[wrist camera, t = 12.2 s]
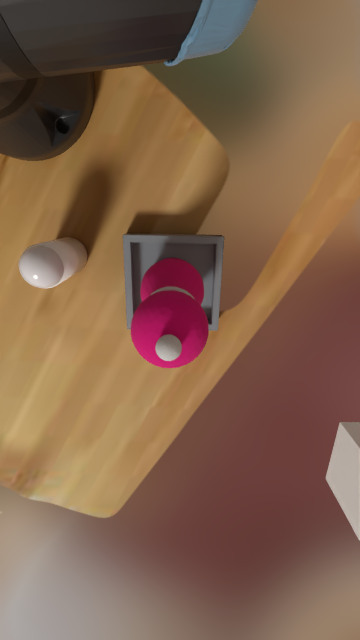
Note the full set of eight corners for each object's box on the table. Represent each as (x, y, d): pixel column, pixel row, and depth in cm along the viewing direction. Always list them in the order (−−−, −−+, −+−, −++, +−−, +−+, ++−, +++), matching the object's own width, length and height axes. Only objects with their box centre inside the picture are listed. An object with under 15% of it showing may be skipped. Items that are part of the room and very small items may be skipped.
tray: (126, 233, 36) (122, 234, 34) (221, 235, 37) (224, 236, 34) (130, 322, 40) (127, 329, 38) (215, 323, 41) (217, 330, 38)
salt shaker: (49, 236, 37) (4, 246, 27) (85, 237, 37) (53, 247, 27) (54, 272, 38) (13, 293, 29) (89, 273, 38) (59, 294, 29)
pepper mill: (171, 240, 36) (165, 275, 17) (213, 281, 38) (247, 351, 19) (132, 282, 38) (88, 355, 19) (174, 319, 40) (170, 418, 21)
